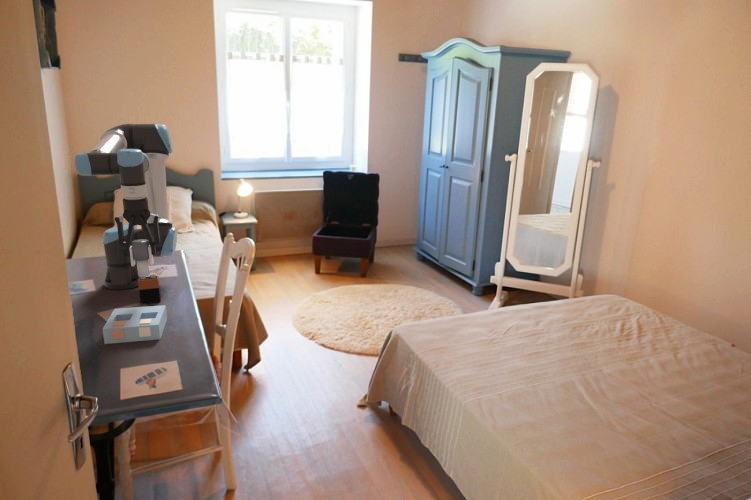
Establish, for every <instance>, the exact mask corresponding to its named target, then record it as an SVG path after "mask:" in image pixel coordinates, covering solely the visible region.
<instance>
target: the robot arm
mask: <svg viewBox="0 0 751 500" xmlns="http://www.w3.org/2000/svg"><path fill="white" fill-rule="evenodd" d="M172 153H173V145H172V140H171V135H170V132H169V128H168V127H167V125H165V124H162V123H160V124H159V123H123V124H119V125H116V126H113V127H111V128H109V129H107V130H106V131H104V132H103V133H102V135H101V136H100V139H99V142H98V143H97V144H96V145H95V146H94V147H93V148H92V149H91V150H90V151H89V152H78V153H76V154H75V156H74V167H75V170H76V173H77V174H78V175H79V176H87V177H94V176H119V180H120V191H121V197H122V206H123V207H122V208H123V213H122V214H121V215H116V216H115V217H114V222H115V223H116V226H115V227H110V228H108V229H106V230H105V231H104V232H103V234H102V239H103V243H102V244H103V248H104V249H103V250H104V254H105V262H106V270H105V275H104V278H103V283H104V287H105V288H106V289H107V290H108V289H109V290H117V291H118V290H128V289H134V288H137V287H139V286H138V279H139V276H138V270H137V261H136V260H134V258H133V250H132V241H134V240H139V239H146V240H148V241H149V246H148V251H149V259H148V261H149V266H153V265H154V263H155V261H154V258H164V257H172V256H173V255H174V254H175V252H176V248H177V240H178V239H177V238H178V234H177V231H178V230H177V228H176V227H175V226H173V223H172V222H171V221H170V220H169V214H168V213H169V212H168V211H169V210H168V193H167V172H166V161H167V160H169V158H170V157H169V155H170V154H172ZM124 220H125V221H126V222H128V224H124V223H123V222H124ZM135 226H141V228H136V227H135Z"/></svg>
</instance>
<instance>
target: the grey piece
mask: <svg viewBox="0 0 751 500" xmlns="http://www.w3.org/2000/svg"><path fill="white" fill-rule="evenodd" d="M148 246H149V241H148V240H146V239H139V240H134V241H132V250H133V258H134V260H136V261H137V270H138V276H139V277H148V276H150V275H151V274H150V263H149V251H148Z"/></svg>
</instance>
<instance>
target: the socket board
mask: <svg viewBox="0 0 751 500" xmlns="http://www.w3.org/2000/svg"><path fill="white" fill-rule="evenodd" d="M167 320H168V314H167V305H166V304H165V305H153V306H151V305H150V306H136V307H122V308H114V309H113V310H112V312H111V314H110V316H109V318H108V320H107V321H106V322H105V324H104V326H103V328H102V337H103V342H104V345H108V344H109V345H110V344H120V343H133V342H143V341H146V342H147V341H155V340H161V338H162V335H163V332H164V330H165V326H166V324H167Z"/></svg>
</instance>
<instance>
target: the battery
mask: <svg viewBox="0 0 751 500" xmlns="http://www.w3.org/2000/svg"><path fill="white" fill-rule="evenodd" d="M159 279H160V278H159V276H158V275H156V274H150V275H149V276H145V277H139V279H138V286H137V287H138V292H139V293H138V294H139V302H140V304H143V305H144V304H153V303H160V302H161V298H162V297H161V288H160V287H161V286H160V280H159Z"/></svg>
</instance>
